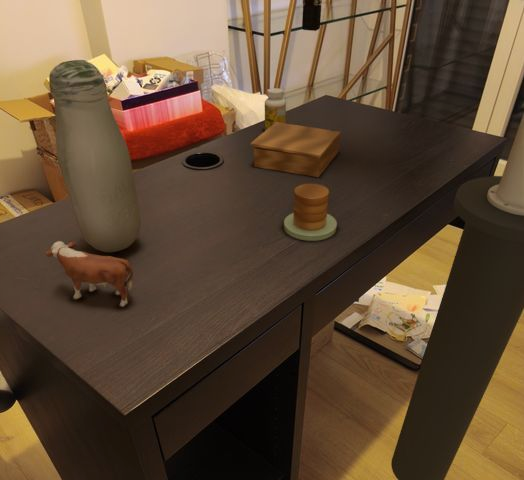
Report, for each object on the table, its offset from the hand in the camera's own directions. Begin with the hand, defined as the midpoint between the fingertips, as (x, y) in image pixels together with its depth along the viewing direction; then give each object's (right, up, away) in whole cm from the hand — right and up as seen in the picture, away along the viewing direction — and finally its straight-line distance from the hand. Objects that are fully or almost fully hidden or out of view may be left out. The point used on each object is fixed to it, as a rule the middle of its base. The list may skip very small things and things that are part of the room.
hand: (310, 29), depth 94 cm
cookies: (-1, -40, -8) cm, 41 cm away
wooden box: (-2, -19, +16) cm, 25 cm away
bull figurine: (-35, -55, -22) cm, 69 cm away
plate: (-1, -41, -7) cm, 42 cm away
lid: (-2, -16, +13) cm, 21 cm away
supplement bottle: (-6, -6, +30) cm, 32 cm away
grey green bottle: (-35, -46, -11) cm, 59 cm away
